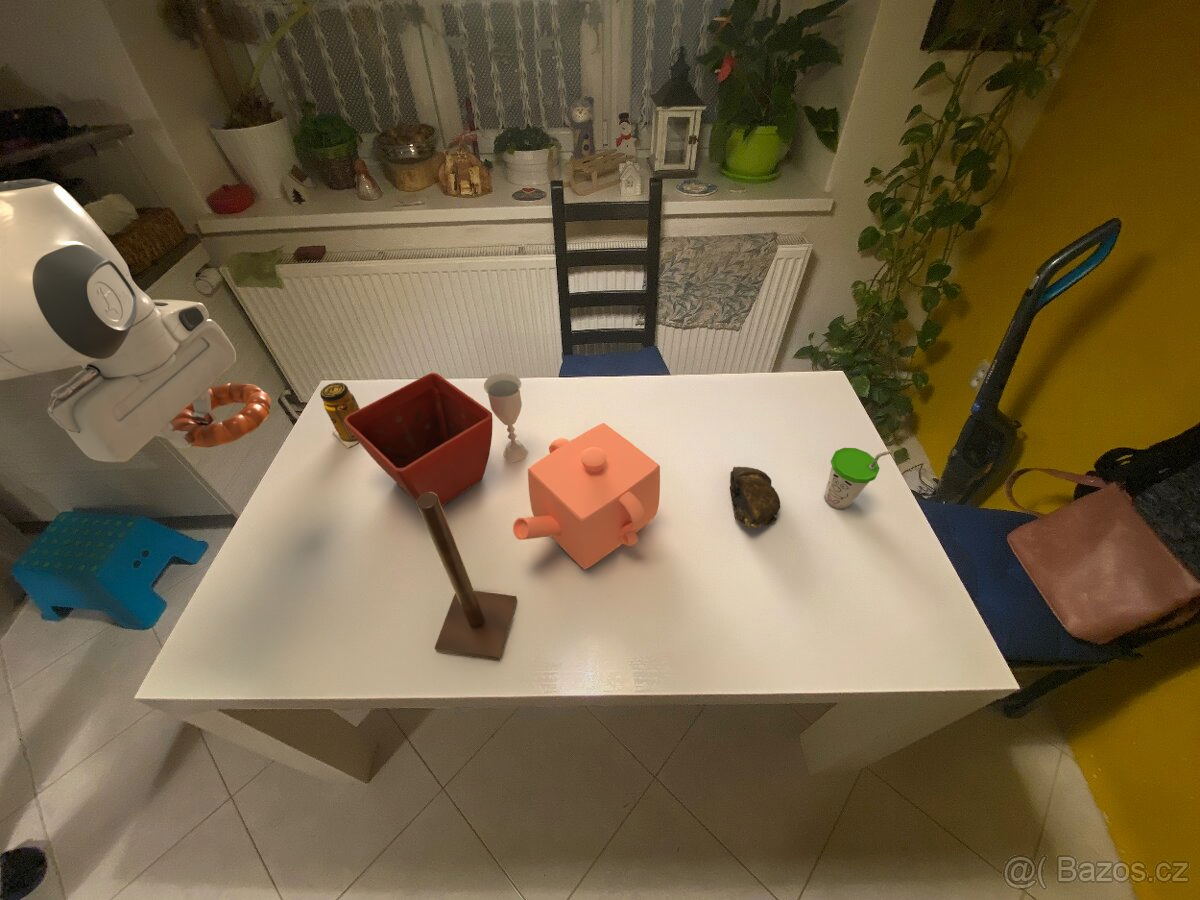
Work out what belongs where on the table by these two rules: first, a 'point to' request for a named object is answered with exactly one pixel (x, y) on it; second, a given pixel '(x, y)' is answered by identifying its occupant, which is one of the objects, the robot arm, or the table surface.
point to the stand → (466, 597)
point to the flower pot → (427, 437)
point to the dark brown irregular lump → (753, 497)
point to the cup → (850, 475)
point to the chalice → (507, 409)
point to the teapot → (591, 494)
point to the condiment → (340, 410)
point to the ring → (234, 426)
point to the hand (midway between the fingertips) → (197, 433)
